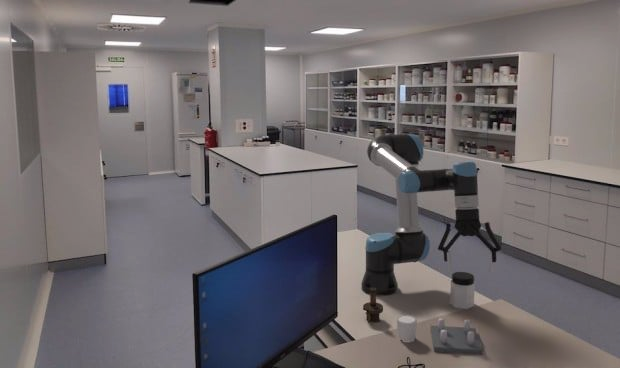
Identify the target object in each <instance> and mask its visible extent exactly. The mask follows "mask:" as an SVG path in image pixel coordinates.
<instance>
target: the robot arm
mask: <svg viewBox="0 0 620 368" xmlns="http://www.w3.org/2000/svg"><path fill="white" fill-rule="evenodd" d="M366 154H367V157H368V159H369V161H370V162H371V163H372V164H373V165H375V166H377V167H381V168H382V169H383V170H385V171H386V172H388V173H389V174H390V175H391V176H392V177H393V178H394V179H395V192H396V193H395V194H396V195H395V196H396V208H397V211H396V212H397V223H398V226H397V228H396V230H394V231H395V232H394V233H391V232H377V233H373V234H370V235H369V236H368V237H367V238H366V241H365V272H364V274H363V277H362V281H361V290H362V291H363V292H364V291H365V292H364V293H365V294H368V293H369V295H370V289H371V288H376V296H389V295H390V296H391V295H393V294H396V293H397V292H398V288H399V285H398V281H397V278H396V275H395V272H394V271H395V268H394V267H395V265H398V264H407V263H417V262H422V261H425V260H426V259H427V258H428V256H429V253H430V247H431V245H430V240H429V236H428V235H427V233H424V229H423V228H422V227H421V226H420V219H419V205H418V204H419V203H418V193H427V192H443V191H453V194H454V207H455V208H456V209H455V223H454V222H453V223H452V222H447V223H446V226H445V228H446V229H445V232H444V233H443V236H442V238H441V241H440V242H439V245H438V247H437V249H438V251H441V252H443V260H444V262H446V263H447V264H446V265H447V272H448V273H450V272H452V270H453V269H452V254H451V253H452V252H451V251H450V249H451V248H452V246H453V245H454V244H455V243H456V242H457V240H458V239H459V237H460V236H462V237H467V236H469V237H476V238H478V239H479V240H480V241H481V242H482V244H484V245H485V247H486V248H488V250H489V253H488V254H489V255H488V256H489V269H490V270H489V273H490V274H493V273H494V263H496V262H497V252H500V251H501V250H502V248H503V247H502V246H501V244H500V242H499V240H498V238H497V237H496V236H495V234H494V231H493V230H492V228H491V223H490V222H489V221H486V222H483V223H481V221H480V209H479V208H478V207H479V206H480V205H479V191H478V190H479V188H478V187H479V186H478V172H477V164H476V162H474V161H462V162H454V163H453V164H452V168H442V169H428V170H427V169H425V170H423V169H422V170H420V169H419V168H418V167H419V162H420V161H422V159H423V158H424V146H423V143H422V140H421V139H420V138H419V136H417V135H416V134H414V133H413V134H411V133H404V134H403V133H402V134H401V133H400V134H382V135H377V137H374V138H373V139H372V140H371V141H370V143H369V144H368V146H367V150H366ZM454 228H455V230H456V231H457V232H456V233H455V234H454V236H453V237H452V239H450V241H449V242H448V243H447V245H446V246H445V244H446V242H447V240H448V238H449V235H450V234H451V230H453V229H454ZM481 228H483V229H484V230H486V233H487V234H488V237H489V238H490V240H491V241H492V243H493V244H494V245H493V244H492V243H491V242H490V241H489V240H488V239H487V238H486V237H485V236H484V235H483V234H482V232H481V231H480V230H481ZM394 234H395V235H394Z"/></svg>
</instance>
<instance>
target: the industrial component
mask: <svg viewBox="0 0 620 368" xmlns="http://www.w3.org/2000/svg"><path fill="white" fill-rule="evenodd" d="M369 298H370V299H369V300H370V302H368V301H367V302H366V303H364V304H363V305H362V310H363V311H366V312H365V313H364V315H366V321H367V323H376V322H377V323H378V322H379V321H380V314H382V313H383V312H384V306H383V305H382V304H381V303H379V302H377V295H376V288H371V289H370V294H369Z"/></svg>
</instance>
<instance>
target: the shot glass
mask: <svg viewBox="0 0 620 368" xmlns="http://www.w3.org/2000/svg"><path fill="white" fill-rule="evenodd" d="M395 320H396V329H397V332H396V333H397V338H398V337H399V338H400V339H401V340H404V341H412V340H414V339H415V340H416V332H417V323H418V319H417V318H416V317H415V316H413V315H411V314H410V315H407V314H402V315H397V317H396V319H395ZM415 340H414V341H415Z"/></svg>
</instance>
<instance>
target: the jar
mask: <svg viewBox="0 0 620 368" xmlns="http://www.w3.org/2000/svg"><path fill="white" fill-rule="evenodd" d="M475 285H476V283H475V276H474V274H472V273H470V272H466V271H456V272H453V273H452V274H451V280H450V293H449V294H450V297H449V303H450V304H451V305H452V307H453V308H456V309H462V310H468V309H471V308H473V307H474V306H475V289H476V288H475V287H476V286H475Z"/></svg>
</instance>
